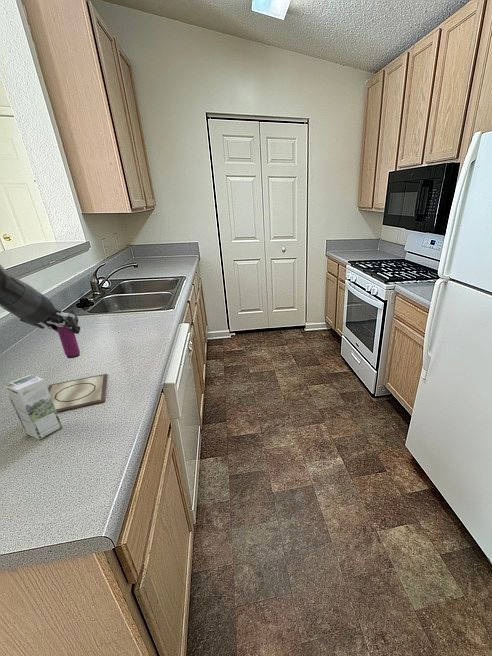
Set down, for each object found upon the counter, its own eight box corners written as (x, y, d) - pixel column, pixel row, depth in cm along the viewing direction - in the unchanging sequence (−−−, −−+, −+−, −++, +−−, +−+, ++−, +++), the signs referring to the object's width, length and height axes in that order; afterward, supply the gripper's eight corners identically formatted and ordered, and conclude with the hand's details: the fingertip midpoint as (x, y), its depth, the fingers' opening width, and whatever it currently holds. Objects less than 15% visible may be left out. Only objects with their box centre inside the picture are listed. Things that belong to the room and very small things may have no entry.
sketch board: (37, 417, 89) (36, 414, 88) (49, 386, 103) (49, 384, 103) (105, 402, 95) (104, 400, 94) (107, 374, 109) (107, 372, 109)
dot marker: (65, 359, 93) (53, 322, 89) (67, 355, 96) (55, 318, 92) (80, 357, 95) (69, 320, 90) (81, 353, 98) (70, 317, 93)
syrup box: (50, 421, 87) (29, 373, 80) (64, 427, 84) (43, 378, 78) (26, 434, 82) (2, 383, 76) (40, 441, 80) (16, 389, 73)
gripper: (57, 287, 80) (98, 318, 96) (-2, 288, 79) (48, 319, 96) (51, 315, 77) (93, 342, 94) (-11, 316, 77) (42, 343, 93)
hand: (70, 330), depth 95 cm, fingers closed on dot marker, 3 cm apart
